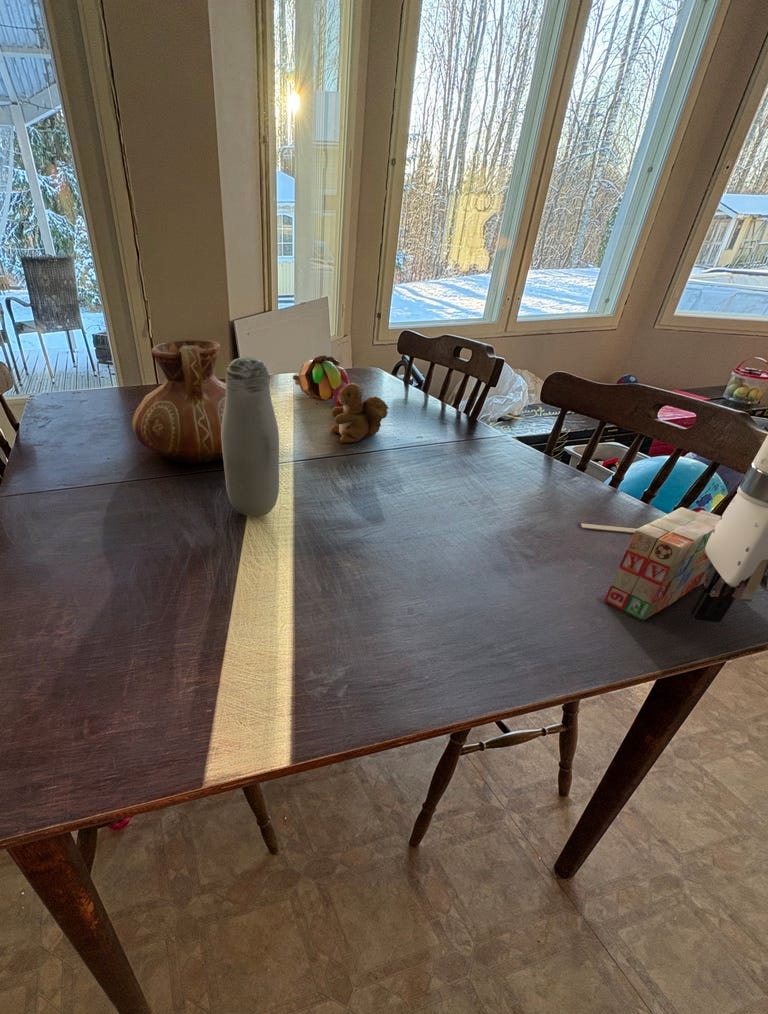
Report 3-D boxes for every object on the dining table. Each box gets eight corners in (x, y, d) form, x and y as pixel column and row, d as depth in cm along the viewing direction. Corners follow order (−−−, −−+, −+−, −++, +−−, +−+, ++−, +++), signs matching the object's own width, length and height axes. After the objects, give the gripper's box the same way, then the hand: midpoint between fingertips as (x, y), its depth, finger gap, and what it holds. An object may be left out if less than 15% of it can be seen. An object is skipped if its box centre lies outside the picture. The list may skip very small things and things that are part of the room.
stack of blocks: (676, 560, 90) (712, 491, 82) (716, 576, 86) (757, 505, 78) (602, 601, 81) (635, 528, 73) (643, 621, 77) (682, 546, 69)
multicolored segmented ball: (326, 369, 178) (364, 355, 157) (321, 416, 183) (357, 410, 161) (285, 360, 173) (318, 345, 151) (281, 410, 177) (312, 403, 155)
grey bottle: (219, 516, 105) (202, 360, 87) (251, 498, 111) (242, 349, 94) (258, 529, 100) (249, 367, 83) (289, 509, 107) (287, 355, 89)
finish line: (687, 534, 97) (687, 533, 96) (690, 538, 95) (690, 537, 95) (581, 524, 100) (581, 523, 100) (582, 528, 99) (582, 527, 99)
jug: (118, 447, 136) (94, 337, 121) (214, 422, 151) (204, 322, 135) (178, 481, 119) (159, 358, 103) (281, 450, 133) (278, 337, 118)
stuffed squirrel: (328, 431, 144) (329, 379, 136) (379, 429, 145) (383, 376, 137) (334, 444, 136) (336, 389, 128) (387, 441, 137) (393, 386, 129)
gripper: (861, 519, 53) (759, 657, 64) (791, 464, 64) (715, 590, 76) (774, 511, 54) (690, 648, 66) (721, 459, 65) (657, 584, 77)
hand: (704, 617), depth 71 cm, fingers closed
